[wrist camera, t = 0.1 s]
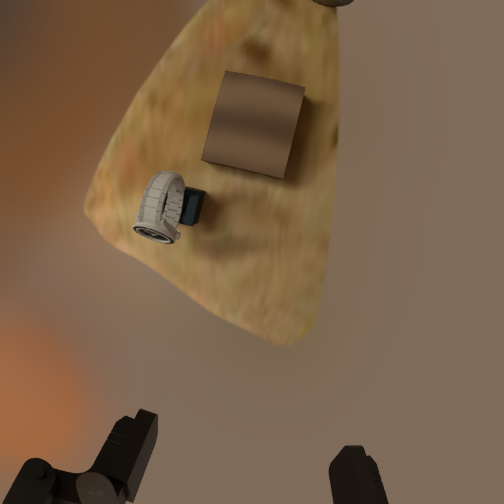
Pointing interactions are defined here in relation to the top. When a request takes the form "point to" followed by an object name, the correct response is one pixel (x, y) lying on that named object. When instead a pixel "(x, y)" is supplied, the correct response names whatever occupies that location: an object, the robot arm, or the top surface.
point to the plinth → (253, 124)
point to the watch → (167, 207)
